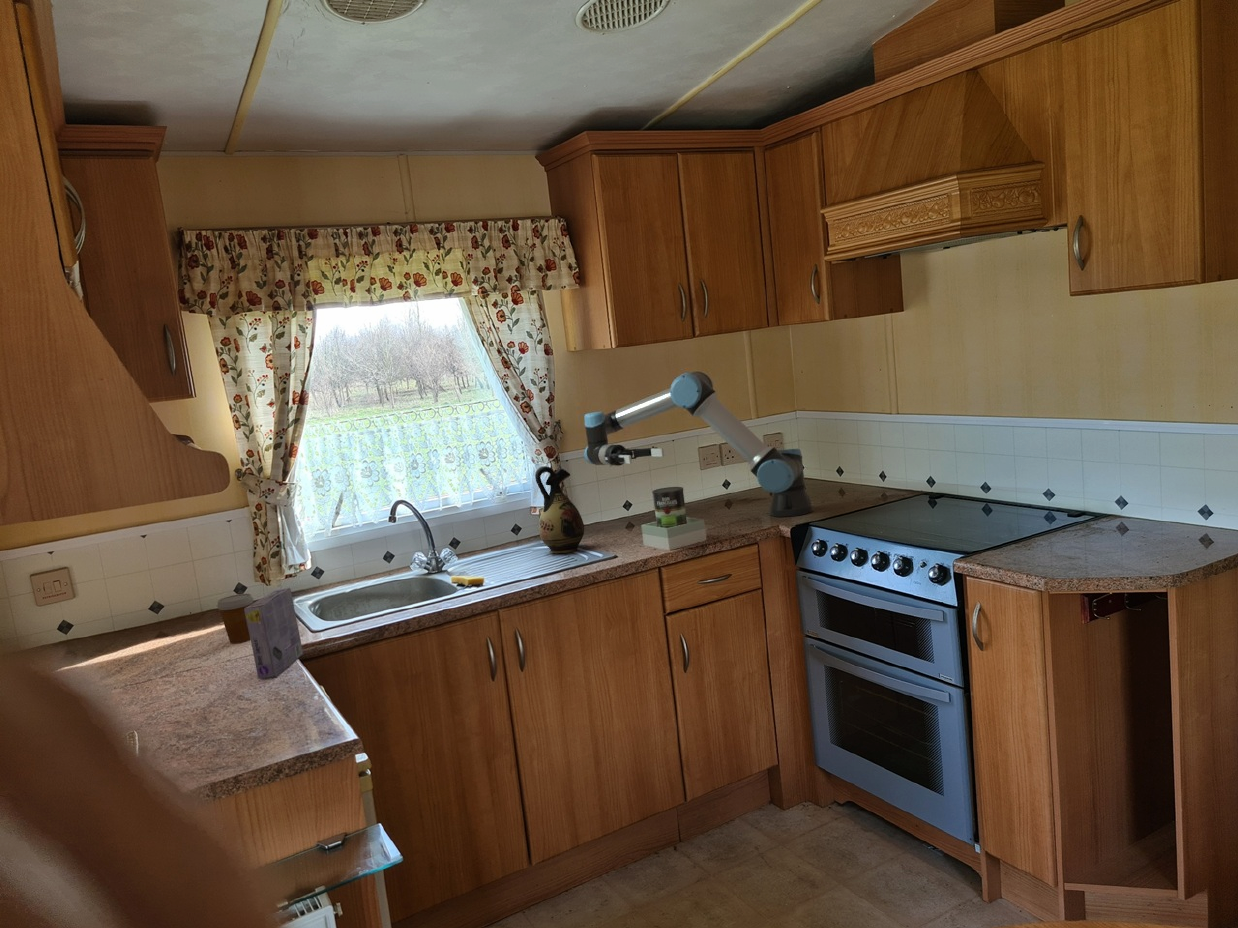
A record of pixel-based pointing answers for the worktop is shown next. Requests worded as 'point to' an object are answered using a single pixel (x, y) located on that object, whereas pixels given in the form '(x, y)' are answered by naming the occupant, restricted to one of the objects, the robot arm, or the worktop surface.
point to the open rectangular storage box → (674, 534)
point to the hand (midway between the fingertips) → (646, 456)
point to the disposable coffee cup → (235, 616)
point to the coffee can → (669, 507)
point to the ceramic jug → (558, 514)
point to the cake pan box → (273, 633)
